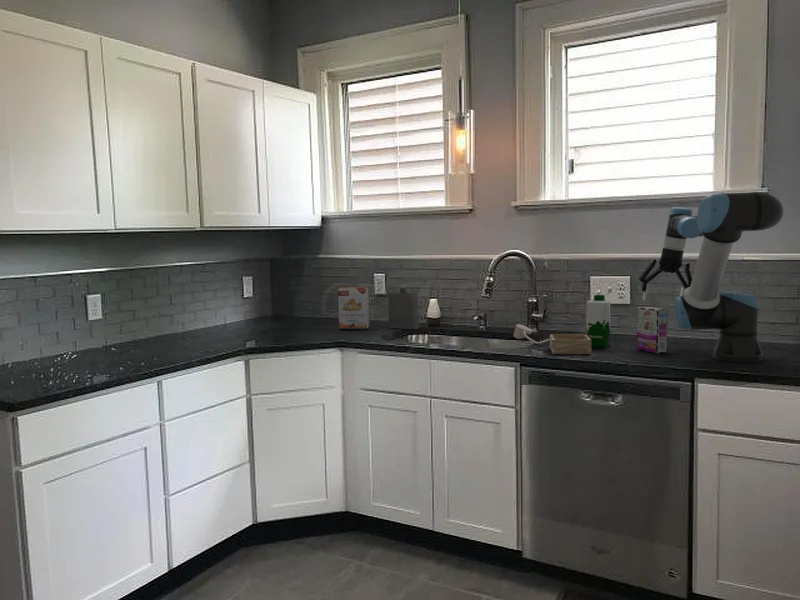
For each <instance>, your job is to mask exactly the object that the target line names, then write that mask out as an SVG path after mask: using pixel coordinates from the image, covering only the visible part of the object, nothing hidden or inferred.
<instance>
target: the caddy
mask: <svg viewBox="0 0 800 600" xmlns="http://www.w3.org/2000/svg"><path fill="white" fill-rule="evenodd" d="M549 339H550V340H549V349H551V350H550V351H552V352H551V355H553V354H591V355H592V347H591V339H590V338H589V337H588V335H587V334H586V333H580V334H579V333H569V334H568V333H561V334H559V333H558V334H555V333H553V334H552V333H551V334H549Z"/></svg>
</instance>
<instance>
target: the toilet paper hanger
mask: <svg viewBox="0 0 800 600" xmlns="http://www.w3.org/2000/svg"><path fill="white" fill-rule="evenodd" d="M532 333H533V330H532V328H529V327H527V326H526V325H523V324H516V325H515V328H514V332H513V337H514V338H515V339H516V340H517V339H518V340H520V339H521V340H522V339H525V338H526V339H527V340H528V341H530V342H531V343H534V344H537V345H539V343H540V344H542V342H543V343H546V342H549V341H550V338H547V339H545V340H542V341H539V342H538V341H536V340H535V339H532V338H531V337H529V336H528V335H531V334H532ZM548 340H549V341H548ZM545 341H546V342H545Z"/></svg>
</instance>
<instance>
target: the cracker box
mask: <svg viewBox="0 0 800 600" xmlns="http://www.w3.org/2000/svg"><path fill="white" fill-rule="evenodd" d="M337 295H338V296H337V297H338V299H337V301H338V325H339V328H368V327H369V328H370V312H369V311H370V308H369V287H368V286H362V287H361V286H360V287H358V286H350V287H349V286H347V287H345V286H344V287H343V286H340V287H339V288H338V290H337ZM339 328H338V329H339Z"/></svg>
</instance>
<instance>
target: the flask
mask: <svg viewBox="0 0 800 600" xmlns="http://www.w3.org/2000/svg"><path fill="white" fill-rule="evenodd" d="M418 294H419V293H418V292H413V291H412V292H409V291H408V288H407V287H400V288H399V291H398V292H397V291H395V292H388V293H387V297H388V298H387V299H388V328H389V327H390V328H404V329H403V330H411V329H415V330H418V329H419V295H418ZM390 328H389V329H390Z"/></svg>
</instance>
